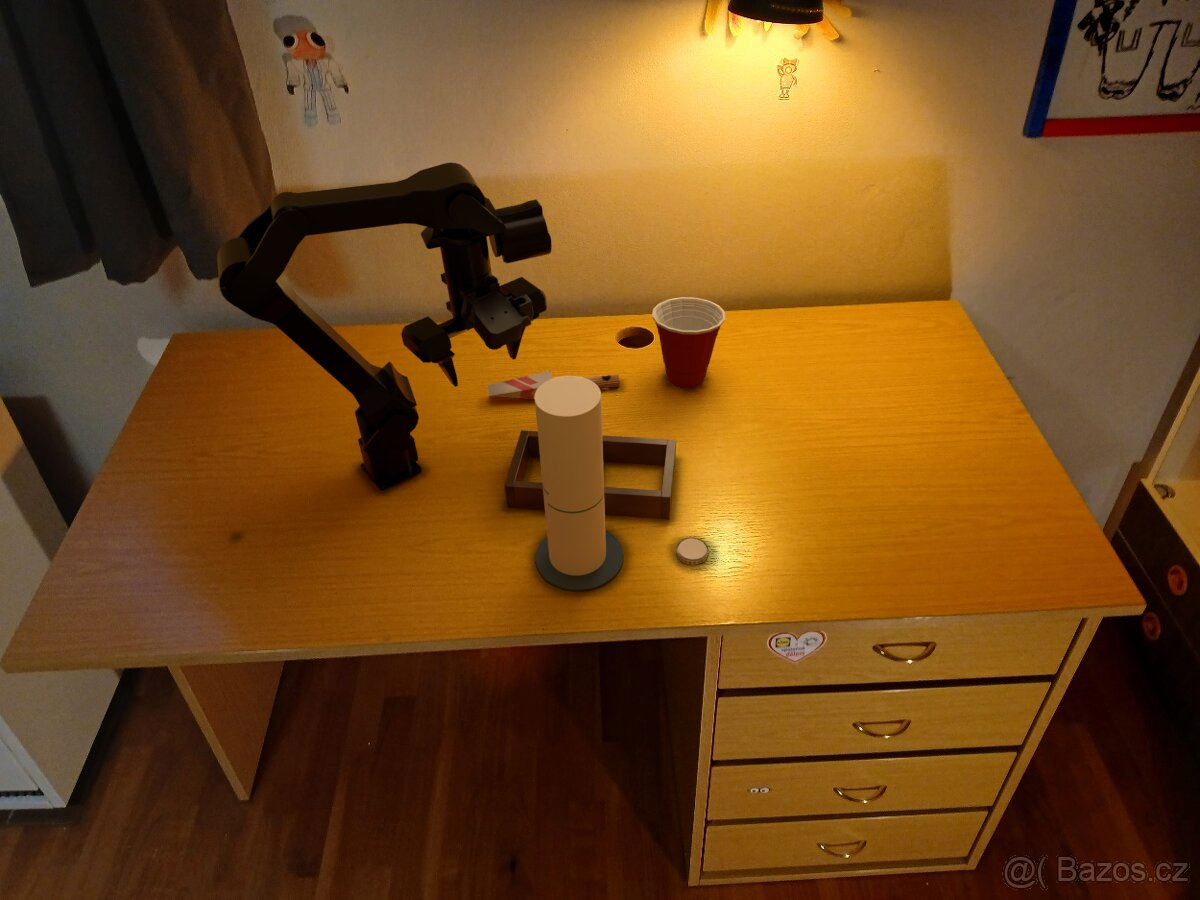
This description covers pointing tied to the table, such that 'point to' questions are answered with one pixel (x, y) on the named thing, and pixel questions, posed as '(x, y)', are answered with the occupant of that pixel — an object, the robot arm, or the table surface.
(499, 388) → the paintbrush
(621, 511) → the rectangular frame
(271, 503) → the table surface
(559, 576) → the coaster
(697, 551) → the bottle cap
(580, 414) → the cylindrical container
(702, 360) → the plastic cup
